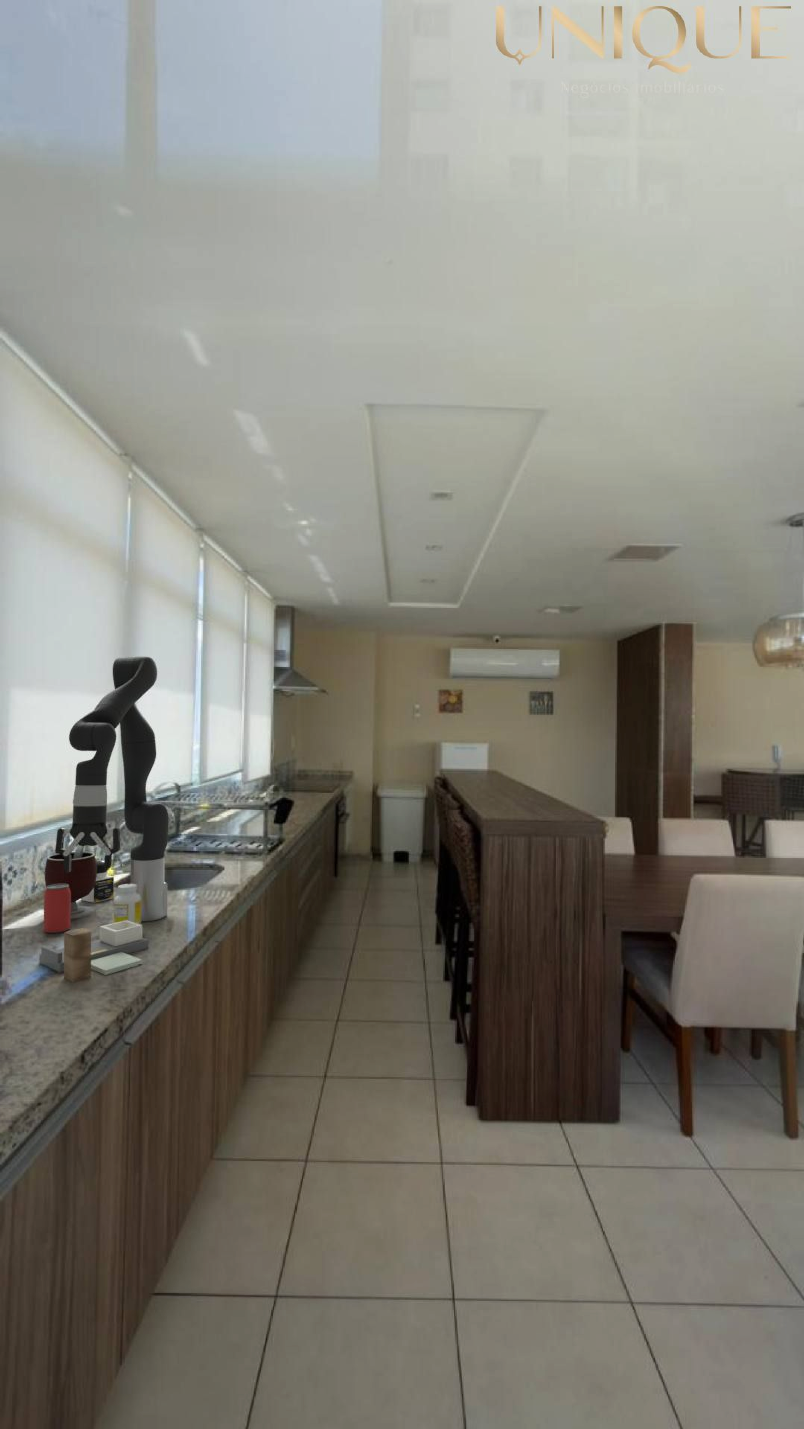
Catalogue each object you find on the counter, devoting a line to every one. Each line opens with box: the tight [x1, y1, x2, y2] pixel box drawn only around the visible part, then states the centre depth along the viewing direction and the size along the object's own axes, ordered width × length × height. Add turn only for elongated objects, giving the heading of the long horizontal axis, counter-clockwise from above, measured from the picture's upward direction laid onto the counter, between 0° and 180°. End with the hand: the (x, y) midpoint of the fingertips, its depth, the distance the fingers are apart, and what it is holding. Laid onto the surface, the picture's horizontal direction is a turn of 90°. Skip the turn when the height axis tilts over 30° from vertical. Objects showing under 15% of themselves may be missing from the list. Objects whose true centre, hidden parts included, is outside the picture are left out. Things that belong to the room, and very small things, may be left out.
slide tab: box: [99, 920, 143, 946], centre depth 173 cm, size 7×7×4 cm
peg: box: [63, 927, 92, 983], centre depth 153 cm, size 4×4×10 cm
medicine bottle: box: [80, 860, 115, 904], centre depth 222 cm, size 7×7×12 cm
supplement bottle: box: [113, 883, 142, 925], centre depth 185 cm, size 7×7×13 cm
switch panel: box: [38, 937, 150, 973], centre depth 168 cm, size 22×10×4 cm, turn 142°
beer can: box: [43, 884, 72, 934], centre depth 188 cm, size 7×7×12 cm
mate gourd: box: [44, 845, 97, 920], centre depth 206 cm, size 16×14×20 cm
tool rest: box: [91, 952, 143, 976], centre depth 161 cm, size 9×9×1 cm
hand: (87, 871), depth 169 cm, fingers open, 8 cm apart
